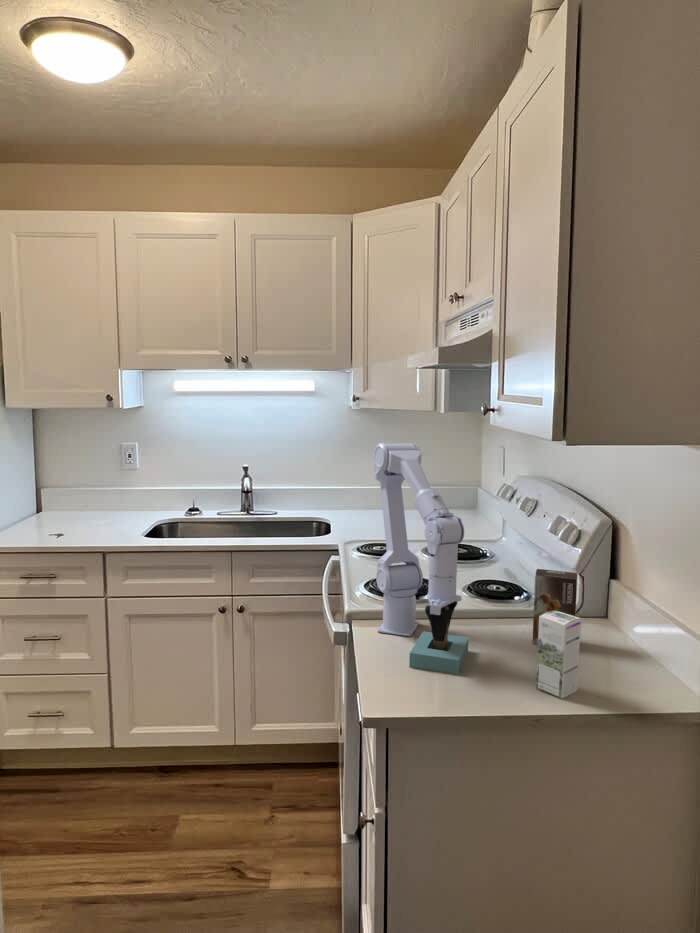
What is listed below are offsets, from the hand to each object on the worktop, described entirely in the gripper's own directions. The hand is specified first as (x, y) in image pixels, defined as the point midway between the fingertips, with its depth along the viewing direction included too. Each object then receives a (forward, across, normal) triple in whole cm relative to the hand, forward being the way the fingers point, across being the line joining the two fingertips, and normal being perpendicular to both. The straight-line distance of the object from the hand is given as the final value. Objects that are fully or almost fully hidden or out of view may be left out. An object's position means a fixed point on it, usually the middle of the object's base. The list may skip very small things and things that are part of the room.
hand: (440, 637), depth 134 cm
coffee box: (+5, +18, -22) cm, 30 cm away
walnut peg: (+3, 0, 0) cm, 3 cm away
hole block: (+5, 0, 0) cm, 5 cm away
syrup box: (+5, -6, -24) cm, 25 cm away
